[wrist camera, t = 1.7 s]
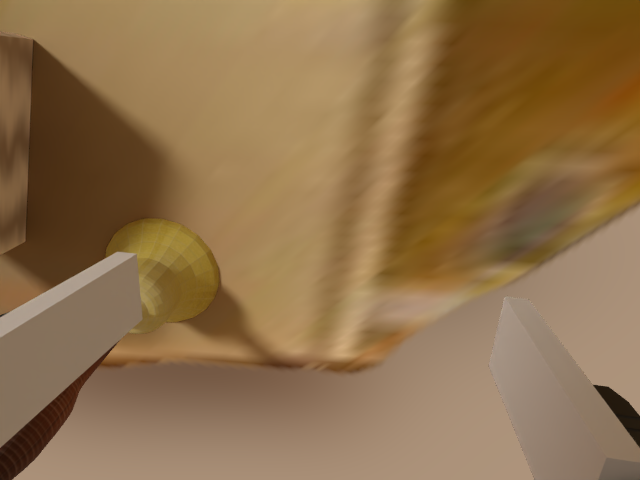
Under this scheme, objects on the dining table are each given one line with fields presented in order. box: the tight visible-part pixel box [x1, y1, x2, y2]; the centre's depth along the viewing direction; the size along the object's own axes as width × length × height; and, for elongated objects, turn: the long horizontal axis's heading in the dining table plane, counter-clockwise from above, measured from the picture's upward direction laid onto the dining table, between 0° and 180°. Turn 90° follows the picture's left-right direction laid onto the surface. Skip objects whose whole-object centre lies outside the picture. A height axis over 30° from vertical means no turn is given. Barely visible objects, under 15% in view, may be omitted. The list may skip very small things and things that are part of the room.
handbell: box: [0, 218, 219, 480], centre depth 32 cm, size 12×12×25 cm
